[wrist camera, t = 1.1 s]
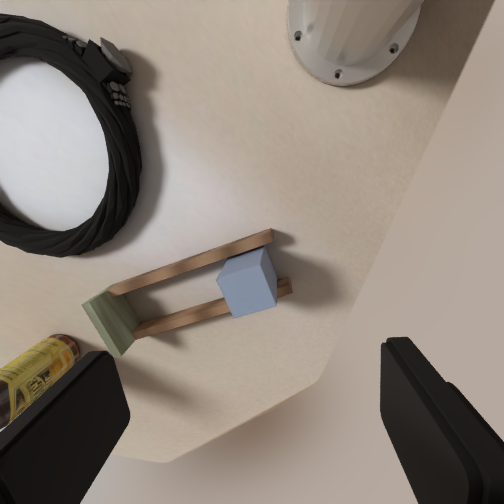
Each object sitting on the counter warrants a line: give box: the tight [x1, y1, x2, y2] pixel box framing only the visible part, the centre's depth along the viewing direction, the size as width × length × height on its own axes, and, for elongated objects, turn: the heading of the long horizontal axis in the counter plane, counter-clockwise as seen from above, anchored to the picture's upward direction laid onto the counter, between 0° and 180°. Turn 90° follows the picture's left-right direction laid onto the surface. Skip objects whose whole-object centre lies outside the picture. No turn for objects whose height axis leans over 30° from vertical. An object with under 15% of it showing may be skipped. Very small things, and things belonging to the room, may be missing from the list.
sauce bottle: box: [0, 334, 79, 429], centre depth 33 cm, size 6×6×20 cm
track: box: [82, 228, 292, 358], centre depth 34 cm, size 25×8×6 cm, turn 111°
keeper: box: [216, 245, 277, 318], centre depth 31 cm, size 5×5×8 cm
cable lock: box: [0, 14, 142, 258], centre depth 31 cm, size 28×4×30 cm
